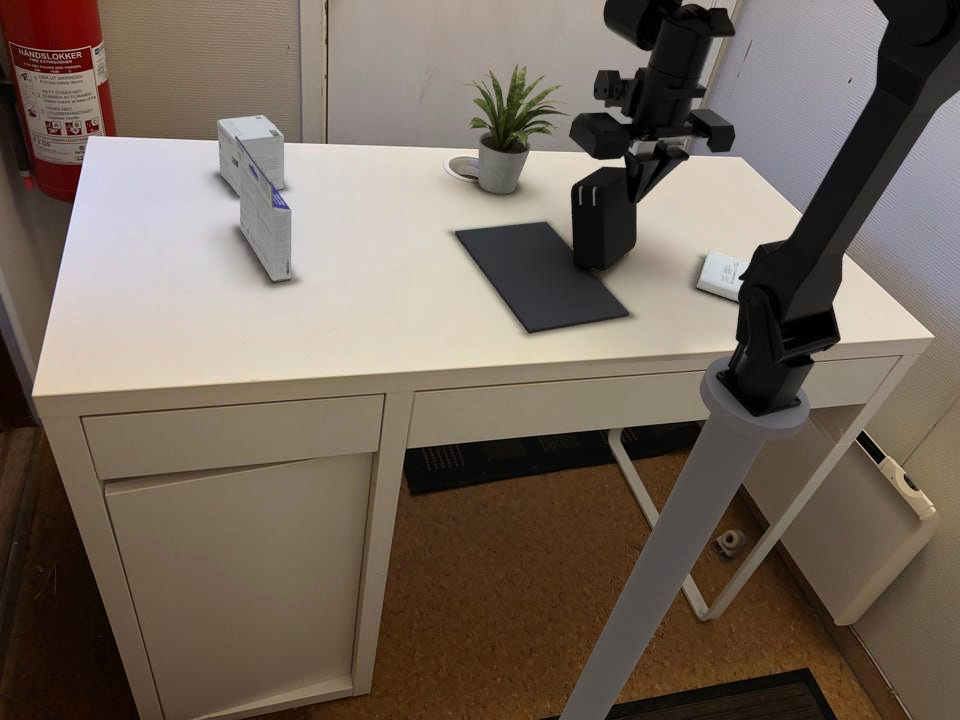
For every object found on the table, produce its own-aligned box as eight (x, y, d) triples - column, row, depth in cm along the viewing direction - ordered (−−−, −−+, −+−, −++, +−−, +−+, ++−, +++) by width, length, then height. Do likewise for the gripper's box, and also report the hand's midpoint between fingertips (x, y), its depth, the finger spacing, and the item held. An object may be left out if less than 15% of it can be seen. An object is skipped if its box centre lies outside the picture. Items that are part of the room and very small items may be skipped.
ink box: (294, 280, 80) (294, 182, 73) (272, 284, 79) (270, 185, 72) (259, 225, 87) (255, 131, 80) (239, 228, 86) (233, 133, 79)
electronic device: (637, 245, 95) (637, 165, 90) (605, 273, 88) (604, 188, 83) (606, 242, 97) (605, 164, 92) (572, 269, 90) (569, 186, 85)
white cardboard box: (219, 175, 95) (215, 119, 90) (265, 167, 98) (263, 113, 93) (239, 197, 91) (236, 140, 87) (286, 189, 95) (285, 133, 90)
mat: (628, 315, 85) (629, 313, 85) (528, 333, 80) (529, 330, 80) (545, 224, 98) (546, 221, 98) (454, 233, 93) (455, 230, 93)
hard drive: (797, 324, 89) (695, 288, 92) (800, 290, 95) (705, 258, 98) (802, 313, 88) (700, 277, 91) (806, 279, 94) (709, 247, 97)
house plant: (483, 223, 96) (506, 98, 85) (421, 174, 103) (435, 53, 93) (563, 201, 104) (593, 84, 93) (500, 157, 111) (521, 44, 101)
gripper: (699, 41, 87) (657, 165, 97) (561, 39, 79) (531, 174, 89) (762, 79, 80) (710, 208, 90) (616, 81, 72) (578, 222, 82)
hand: (632, 201), depth 88 cm, fingers closed
